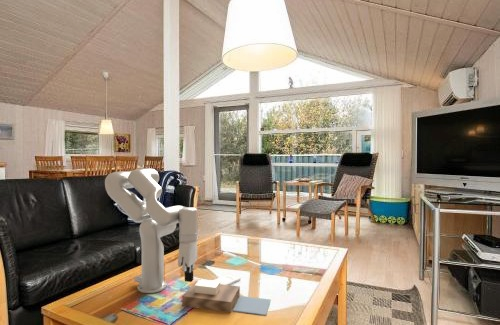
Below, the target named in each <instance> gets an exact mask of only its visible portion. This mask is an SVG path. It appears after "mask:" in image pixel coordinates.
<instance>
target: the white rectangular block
mask: <svg viewBox="0 0 500 325" xmlns="http://www.w3.org/2000/svg"><path fill="white" fill-rule="evenodd" d="M219 290H220V281H212V280H210V279H209V280H208V279H201V278H200V279H199V280H198V281H197V283H196V284H195V293H203V294H211V295H216V294H217V292H218V291H219Z"/></svg>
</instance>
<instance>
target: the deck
mask: <svg viewBox="0 0 500 325" xmlns="http://www.w3.org/2000/svg"><path fill="white" fill-rule="evenodd" d="M197 282H198V281H195V282H194V283H193V284H192V285H191V286H190V287H189V288H188V290H186V292H185V293H184V294H182V301H181V302H182V305H181V306H182V307H186V306H189V307H188V308H195V309H200V310H201V309H203V310H210V311H215V312H216V311H217V312H225V313H232V312H233V309H234V307H235V305H236V303H237V301H238V299H239V297H240V296H241V293H240V292H241V287H240V286H239V285H233V284H231V285H223V284H220V290H219V291H218V292H217V294H216V295H211V294H203V293H195V284H196V283H197Z"/></svg>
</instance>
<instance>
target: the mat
mask: <svg viewBox="0 0 500 325" xmlns="http://www.w3.org/2000/svg"><path fill="white" fill-rule="evenodd" d="M270 303H271V299H269V298H268V299H267V298H260V297H253V296H244V295H240V296H239V298H238V300H237V302H236V303H235V305H234V307H233V309H232V312H237V313H244V314H251V315H258V316H265V317H266V316H267V313H268V310H269V306H270Z"/></svg>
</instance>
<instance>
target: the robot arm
mask: <svg viewBox="0 0 500 325" xmlns="http://www.w3.org/2000/svg"><path fill="white" fill-rule="evenodd" d="M159 181H160V175H159V173H158V171H157V170H156V169H154V168H151V167H150V168H149V167H148V168H136V169H133V170H121V171H113V172H111V173H109V174H108V175H106V177H105V179H104V188H105V191H106V193H107V195H108V196H109V197H110V199H111V200H113V201H114V202H115V203H116V204H117V205H119V207H120V208H121V210H123V212H124V213H125V214H126V215H127V216H128V217H129V218H130V220H132V221H133V222H134V223H139V224H140V225H139V229H138V230H139V235H140V236H139V237H140V241H141V272H140V273H141V275H135V276H134V279H133V281H134V283H138V285H137V291H139V292H140V293H143V294H155V293H158V292H162V291H164V290H165V289H166V288H167V287H168V283H167V282H168V281H166V279H165V280H164V273H165V271H164V266H165V261H164V260H165V257H164V256H165V252H164V251H165V250H164V249H165V247H164V243H163V242H162V240H161V238H162V237H164V236H167V235H170V234H173V233H174V231H176V228H177V224H178V225H179V227H178V228H179V231H178V234H179V245H178V255H177V256H178V257H177V258H178V260H177V261H178V262H177V265H178V267H181V270H182V272H184V282H187V283H192V282H193V281H194V266H195V264H196V262H197V261H198V255H199V254H198V238H199V236H198V228H199V227H198V221H199V220H198V209H197V208H196V207H190V206H189V207H187V206H183V205H173V206H168V207H165V206H164V205H163V204H162V203H161V202H160V201H158V198H160V196H161V195H162V193H163V189H162V188H163V187H162V186H160V184H158V183H159ZM133 188H134V189H135V190H136V191H137V192H138V193H139V194H140V195H141V196H142V197H143V198H144V199H145V200H141V199H140V197H138V195H137V194H135V193H134V192H133V191H131V190H129V189H133Z"/></svg>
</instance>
